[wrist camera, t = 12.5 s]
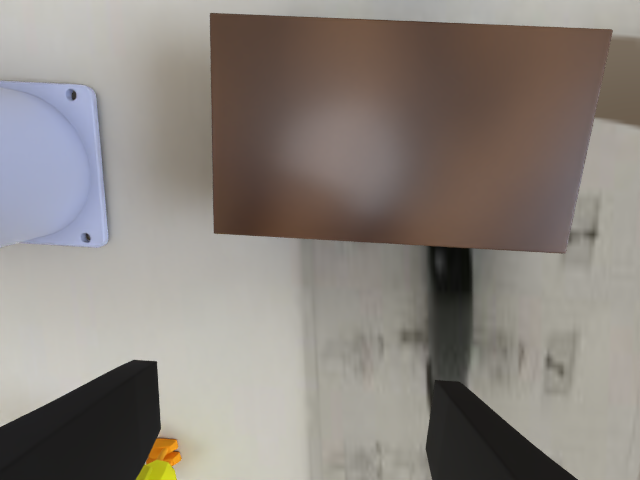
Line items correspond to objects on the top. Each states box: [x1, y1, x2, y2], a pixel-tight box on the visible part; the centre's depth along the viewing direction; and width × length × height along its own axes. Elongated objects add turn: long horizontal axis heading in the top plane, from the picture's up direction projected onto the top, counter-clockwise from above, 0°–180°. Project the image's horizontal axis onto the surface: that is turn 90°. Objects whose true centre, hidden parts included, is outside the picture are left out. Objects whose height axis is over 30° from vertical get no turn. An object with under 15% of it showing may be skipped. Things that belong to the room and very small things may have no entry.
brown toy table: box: [210, 13, 613, 253], centre depth 16 cm, size 14×8×4 cm, turn 87°
